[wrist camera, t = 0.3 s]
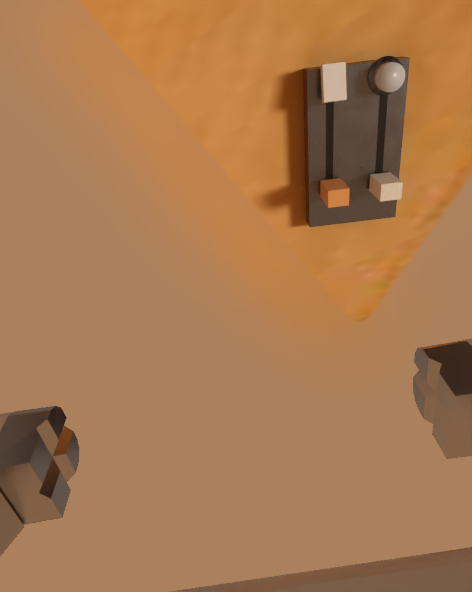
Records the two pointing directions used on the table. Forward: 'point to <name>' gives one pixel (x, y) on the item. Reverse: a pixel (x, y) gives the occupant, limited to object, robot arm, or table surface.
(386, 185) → the fader ivory
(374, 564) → the robot arm
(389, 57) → the console
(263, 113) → the table surface
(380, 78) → the button
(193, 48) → the table surface
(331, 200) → the fader orange
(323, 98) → the plate
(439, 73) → the table surface
